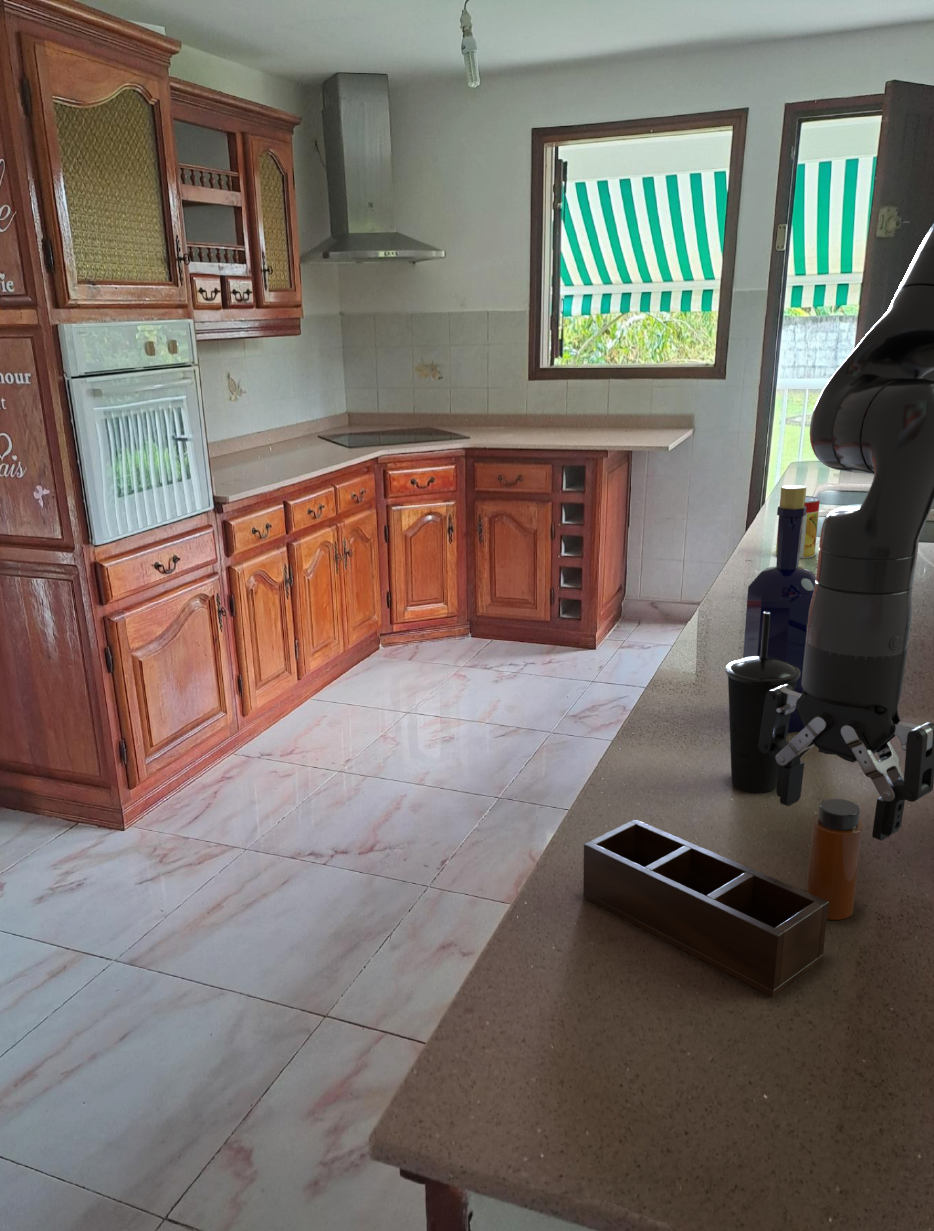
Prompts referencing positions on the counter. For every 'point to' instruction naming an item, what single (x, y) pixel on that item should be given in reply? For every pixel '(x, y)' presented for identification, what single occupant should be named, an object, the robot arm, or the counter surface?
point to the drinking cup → (754, 714)
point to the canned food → (808, 528)
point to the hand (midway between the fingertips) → (834, 818)
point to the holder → (707, 905)
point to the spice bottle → (835, 856)
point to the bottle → (783, 595)
